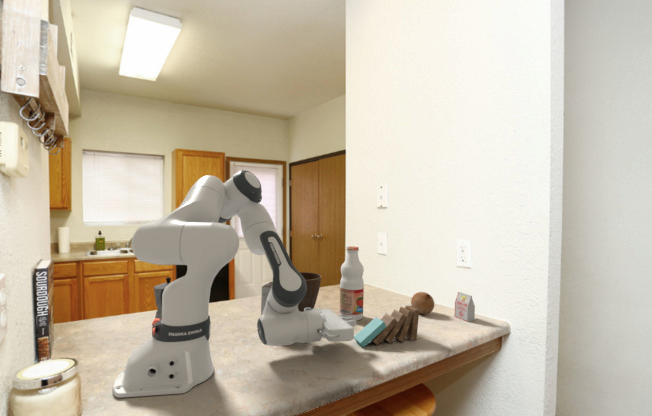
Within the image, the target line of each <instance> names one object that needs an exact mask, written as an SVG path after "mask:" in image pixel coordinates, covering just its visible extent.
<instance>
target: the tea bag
mask: <svg viewBox="0 0 652 416" xmlns="http://www.w3.org/2000/svg"><path fill="white" fill-rule="evenodd" d="M475 308H476V305H475V303H474V300H473V295H470V294H468V293H463V292H461V291H458V292H457V295H456V298H455V301H454V317H455V318H456V319H460V320H462V321H465V322H467V323H469V322H475V319H476V318H475V317H476V316H475V315H476V313H475V311H476V309H475Z"/></svg>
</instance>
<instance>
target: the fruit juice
mask: <svg viewBox="0 0 652 416" xmlns="http://www.w3.org/2000/svg"><path fill="white" fill-rule="evenodd" d="M345 249H346V258H345V260H344V262H343V263H342V264H341V265H340V273H341V278H340V281H339V317H347V318H350V317H352V318H353V319H355V320H356V321H361V320H362V319H363V318H364V293H365V291H364V287H365V285H364V284H365V282H364V278H363V275H364V266H363V264H362V262H361V261H360V259H359V250H360V249H359V246H346V248H345Z"/></svg>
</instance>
